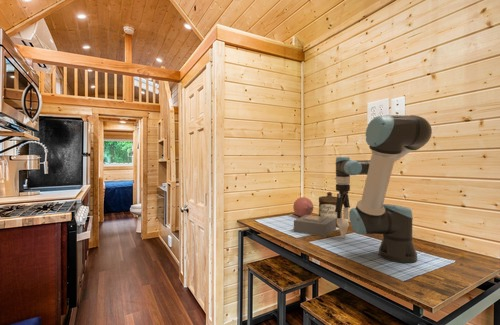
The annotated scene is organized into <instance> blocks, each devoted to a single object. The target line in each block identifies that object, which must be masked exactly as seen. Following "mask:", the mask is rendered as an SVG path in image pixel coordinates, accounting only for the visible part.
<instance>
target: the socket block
mask: <svg viewBox="0 0 500 325" xmlns="http://www.w3.org/2000/svg"><path fill="white" fill-rule="evenodd" d="M310 215H312V216H314V215H313V214H310ZM310 215H305V216H302V217H300V216H299V217H298V218H297V219H293V232H295V233H300V234H307V235H313V236H318V237H323V238H327V237H328V236H329V235H330V234H331V233H333V232H334V231H336V230H337V226H336V218H330V217H326V219H325V220H324V221H322V222H316V221H308V220H304V218H306V217H308V216H310ZM320 217H321V216H320Z"/></svg>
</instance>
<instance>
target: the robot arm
mask: <svg viewBox="0 0 500 325" xmlns="http://www.w3.org/2000/svg"><path fill="white" fill-rule="evenodd" d="M432 131H433V129H432V126H431V124H430V122H429V121H428V120H427V119H425V118H424V117H422V116H420V115H413V114H412V115H402V114H401V115H399V114H398V115H395V114H393V115H392V114H391V115H390V114H386V115H378V116H375V117H373V118H372V119H371V120H370V122H369V123H368V125H367V127H366V130H365V141H366V143H367V145H368V147H369V150H370V151H371V157H370V160H368V159H367V160H366V159H364V160H362V159H361V160H360V159H359V160H357V159H355V160H351V158H350V157H349V156H336V158H335V178H334V180H335V191H336V192H338V193H337V194H336V197H337V202H336V209H335V212H337V224H342V219H346V220H349V222H350V223H349V224H350V226H351V228H352V230H353V232H354V233H356V234H358V235H364V236H366V235H382V240H381V243H380V245H379V248H378V255H379V256H380V257H381V258H384V259H385V260H388V261H391V262H396V263H404V264H408V263H410V264H411V263H416V262H417V261H418V252H417V251H416V247H415V245H414V242H413V220H414V218H413V210H412V209H411V208H409V207H406V206H401V205H396V204H389V203H385V199H386V194H387V190H388V187H389V184H390V181H391V180H390V179H391V175H392V172H393V168H394V164H395V163H396V162H398V160H399V161H400V159H401V158H403V157H405V156H407V154H409V153H410V152H412V151H415V152H416V151H417V150H420V149H421V148H422V147H424V146H425V145H426V144H427V143H428V142H429V141H430V139H431V138H432V134H433V132H432ZM357 175H358V176H359V175H360V176H362V175H363V176H364V175H365V176H366V178H365V179H366V180H365V183H364V187H363V192H362V195H361V196H362V197H361V199H360V200H358V201H357V202H356V206H355V207H352V208H351V206H350V199H349V198H350V197H349V192H350V191H351V176H357ZM384 203H385V204H384ZM349 209H350V210H349ZM342 210H343V212H342Z"/></svg>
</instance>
